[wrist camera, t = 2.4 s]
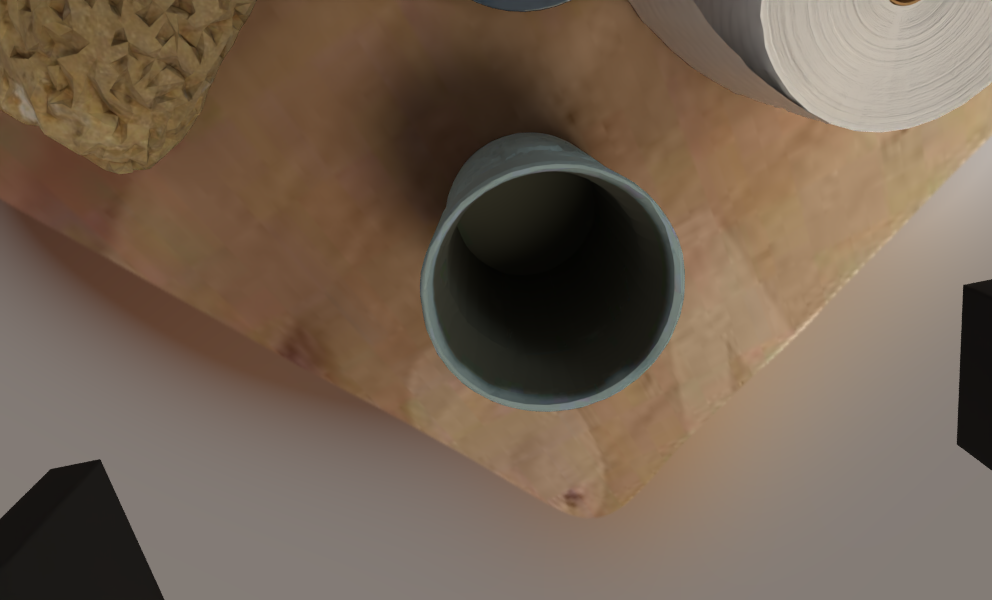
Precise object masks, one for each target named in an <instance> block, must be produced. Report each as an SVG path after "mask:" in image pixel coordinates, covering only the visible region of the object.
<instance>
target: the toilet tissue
mask: <svg viewBox="0 0 992 600" xmlns="http://www.w3.org/2000/svg"><path fill="white" fill-rule="evenodd" d="M628 1H629V2H630V4H631V5H632V6H633V7H634V9H635V11H636V12H637V14H638V15H639V17H640V18H641V20H642V21H643V22H644V23H645V24H646V25H647V26H648V27H649V28H650V29H651V30H652V31H653V32H654V33H655V34H656V35H657V36H658V37H659V38H660V39H661V40H662V41H663V42H664V43H665V44H666V45H667V46H668V47H669V48H670V49H671V50H672V51H673V52H674V53H676V54H677V55H678V56H679V57H680V58H682V59H683V60H684V61H685V62H686V63H688V64H689V65H690V66H691V67H693V68H694V69H695V70H697V71H699V72H700V73H702V74H703V75H705V76H706V77H708V78H710V79H711V80H713V81H714V82H716V83H718V84H719V85H721V86H723V87H725V88H727V89H729V90H730V91H732V92H734V93H735V94H739V95H744V96H746V97H749V98H751V99H753V100H755V101H759V102H763V103H765V104H769V105H773V106H774V107H778V108H784V109H786V110H787V111H788V112H792V113H795V114H798V115H801V116H803V117H807V118H810V119H814V120H818V121H821V122H824V123H826V124H833V125H836V126H840V127H843V128H847V129H850V130H854V131H865V132H888V131H895V130H901V129H908V128H911V127H914V126H917V125H920V124H923V123H926V122H929V121H932V120H935V119H937V118H939V117H941V116H943V115H945V114H947V113H948V112H950V111H952V110H954V109H956V108H958V107H959V106H961V105H963V104H964V103H966V102H967V101H968V100H970V99H971V98H972V97H974V96H975V95H976V94H978V93H979V92H980V91H982V90H983V89H984V88H986V87H987V86H988V85H989V84H990V83H991V82H992V0H628Z"/></svg>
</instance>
